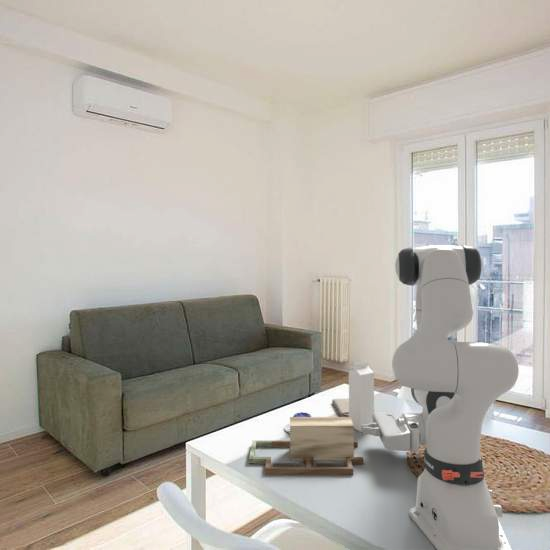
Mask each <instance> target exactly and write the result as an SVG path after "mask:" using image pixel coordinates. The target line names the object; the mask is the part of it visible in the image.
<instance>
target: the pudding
mask: <svg viewBox="0 0 550 550" xmlns="http://www.w3.org/2000/svg"><path fill="white" fill-rule="evenodd" d="M292 417H312V415H311V414H310V413H309V412H304V411H303V412H301V411H300V412H296V413H295V414H294V415H293V416H292ZM289 428H290V423H287V424H286V425H285V426H284V431H285V432H287V433H289V434H290V431H289V430H290V429H289Z"/></svg>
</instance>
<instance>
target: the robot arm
mask: <svg viewBox="0 0 550 550" xmlns="http://www.w3.org/2000/svg"><path fill="white" fill-rule="evenodd" d="M397 255H398V256H397V257H396V260H395V263H394V269H395V273H396V276H397V278H398V281H399V282H401V283H402V285H406V286H413V287H414V286H416V292H415V323H416V330H415V332H414V333H413V335H411V337H410V338H408V339H407V340H406V341H404V342H403V343H401V344H400V345H399V346H398V347H397V349H396V350H395V352H394V353H393V356H392V362H391V367H392V372H393V375H394V377H395V379H396V380H397V382H398V383H399V385H401V386H402V387H404V388H409V389H410V393H411V395H412V399H413V400H414V402H415V403H416V404H418V405H419V406H420V407H422V412H420V413H417V412H416V413H414V412H413V413H412V412H411V413H409V412H408V413H407V412H406V413H405V412H403V413H402V414H401V416H399V415H398V413H395V412H392V411H390V412H388V411H374V412H373V414H372V423H369V424H362V425H361V430H362V431H361V432H362V434H363V435H371V436H374V437H379V439H380V441H381V443H382V444H383V447H384V449H387V450H389V451H404V452H407V451H410V452H412V453H419V452H420V446H426V447H425V448H424V454H423V462H424V463H423V464H424V465H423V466H424V470H423V471H422V473H421V474H420V475H419V476H418V477H417V483H416V484H417V485H416V486H417V487H416V498H415V499H416V501H415V506H413V507H411V508H410V509H409V512H408V515H409V517H411V519H412V520H413V521H414V523H415V524H416V526H418V528H419V529H420V530H421V531H422V533H423V534H424V535H425V536H426V538H427V539H428V540H429V542H430V543H431V544H432V545H433V546H434V547H435V550H513V548H512V546H511V544H510V542H509V540H508V537H507V535H506V532H505V531H504V528H503V526H502V523H501V522H500V519H499V518H503V508H502V505H500V504H494V502H493V500H492V499H493V497H494V492H493V490H492V489H489V487H488V485H487V482H486V478H485V472H484V471H485V468H484V463H483V458H482V456H481V440H482V439H481V437H482V429H483V428H482V427H483V422H484V419H485V416H486V415H487V413H488V411H489V410H490V407H492V406H493V404H494V403H495V401H497V400H498V399H499V398H500V397H501V396H502V395H504V394H506V393H508V392H509V391H511V390H512V388H514V387H515V384H516V383H517V381H518V377H519V365H518V361H517V359H516V357H515V355H514V353H513V352H512V350H510V349H509V348H508V347H506V346H503V345H498V344H494V343H488V342H480V341H479V342H478V341H477V342H476V341H453V340H449V339H448V338H449V337H451V336H452V335H453V334H454V333H457V332H459V331H462V330H463V329H464V328H466V327H467V326H468V325H470V322H471V321H472V320H473V315H474V309H473V304H472V303H473V302H472V297H471V296H472V295H471V290H470V285H473V284H475V283H476V282H477V281H479V279H481V278H480V277H481V274H482V271H483V265H484V264H483V259H482V256H481V254H480V252H479V250H478V249H477V248H476V247H474V246H470V245H461V246H457V245H438V244H435V245H425V246H419V247H418V246H417V247H412V246H411V247H406V248H404V249H401V250H400V251H399V252H398V253H397Z"/></svg>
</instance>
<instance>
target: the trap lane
mask: <svg viewBox="0 0 550 550" xmlns="http://www.w3.org/2000/svg"><path fill="white" fill-rule="evenodd" d="M256 446H266V447H265V448H290V440H252V443H251V447H250V452H249V457H248V464H249V463H254V464H253V465H257V464H256V463H259V464H258V465H265V467H264V469H265V470H264V474H265V475H305V476H306V475H309V476H310V475H312V476H314V475H317V476H318V475H322V476H323V475H324V476H326V475H327V476H329V475H330V476H331V475H333V476H334V475H335V476H336V475H337V476H338V475H346V476H347V475H348V476H349V475H352V476H353V475H354V466H353V465H365V462H364V461H365V458H364V457H363V456H354V457H346V460H345V463H342V462H341V463H340V462H339V463H338V462H337V463H336V462H335V463H334V462H333V463H331V462H327V463H323V462H322V463H320V462H316V463H315V460H314V458H313V457H303V460H302V464H301V462H292V463H291V462H285V463H284V462H283V463H282V462H273V463H272V457H271V456H255V455H256V451H257V447H256ZM358 447H359V442H358V440H354V448H358ZM255 450H256V451H255ZM254 456H255V457H254ZM271 463H272V464H271ZM314 464H315V466H312V465H314ZM302 465H306V466H302ZM345 465H346V466H345Z"/></svg>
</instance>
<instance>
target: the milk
mask: <svg viewBox="0 0 550 550" xmlns="http://www.w3.org/2000/svg"><path fill="white" fill-rule="evenodd" d="M348 398H349V417H351V420H352V423H353V426H354V429H355V430H356V431H359V432H362V430H361V425H362V424H369V423H372V414H373V412H375V372H374V371H373V370H372V369H371V368H370V366H369V362H368V361H363V362H357V363H354V365H353V368H352V369H350V370H348Z"/></svg>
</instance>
